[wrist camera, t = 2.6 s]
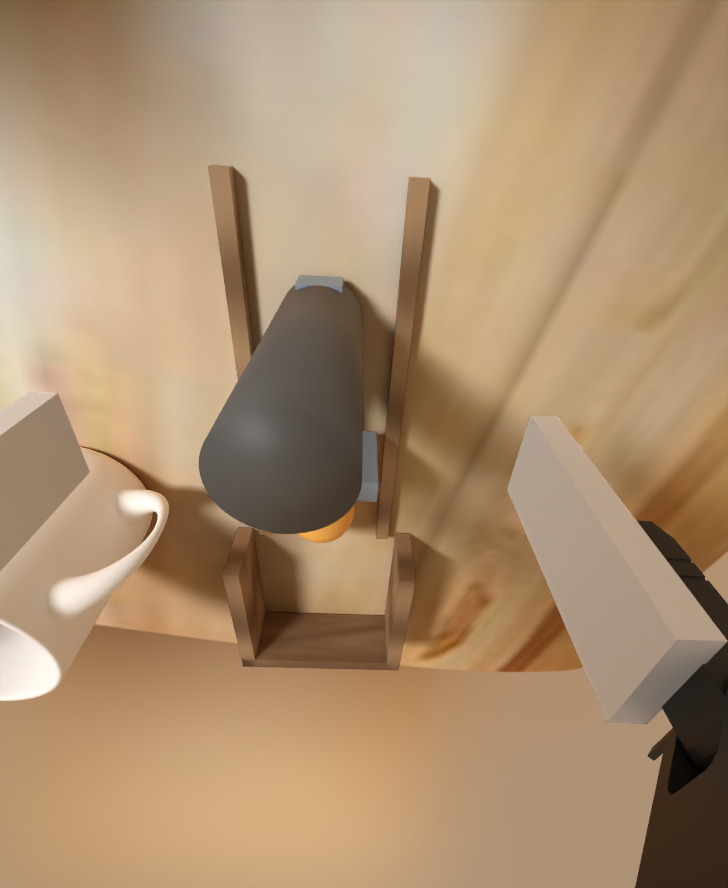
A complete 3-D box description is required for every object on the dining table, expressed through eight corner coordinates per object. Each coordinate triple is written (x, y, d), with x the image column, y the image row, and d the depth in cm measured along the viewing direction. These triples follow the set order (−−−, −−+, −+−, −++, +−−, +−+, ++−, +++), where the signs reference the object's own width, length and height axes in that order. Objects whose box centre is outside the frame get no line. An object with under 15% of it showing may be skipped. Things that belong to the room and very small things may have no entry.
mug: (226, 517, 28) (163, 680, 19) (75, 547, 30) (-45, 710, 21) (159, 412, 23) (35, 565, 15) (-16, 456, 25) (-220, 616, 16)
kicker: (255, 273, 19) (137, 401, 9) (387, 280, 19) (411, 413, 9) (271, 437, 24) (207, 633, 14) (374, 442, 24) (381, 638, 14)
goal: (238, 527, 29) (221, 575, 25) (409, 533, 29) (415, 581, 26) (254, 618, 35) (243, 666, 32) (395, 622, 35) (398, 670, 32)
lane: (212, 165, 17) (208, 165, 16) (428, 178, 17) (430, 178, 16) (261, 528, 29) (259, 534, 28) (387, 532, 29) (387, 539, 29)
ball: (291, 461, 25) (280, 506, 22) (356, 463, 26) (355, 509, 22) (294, 508, 28) (285, 556, 24) (354, 510, 28) (352, 558, 25)
